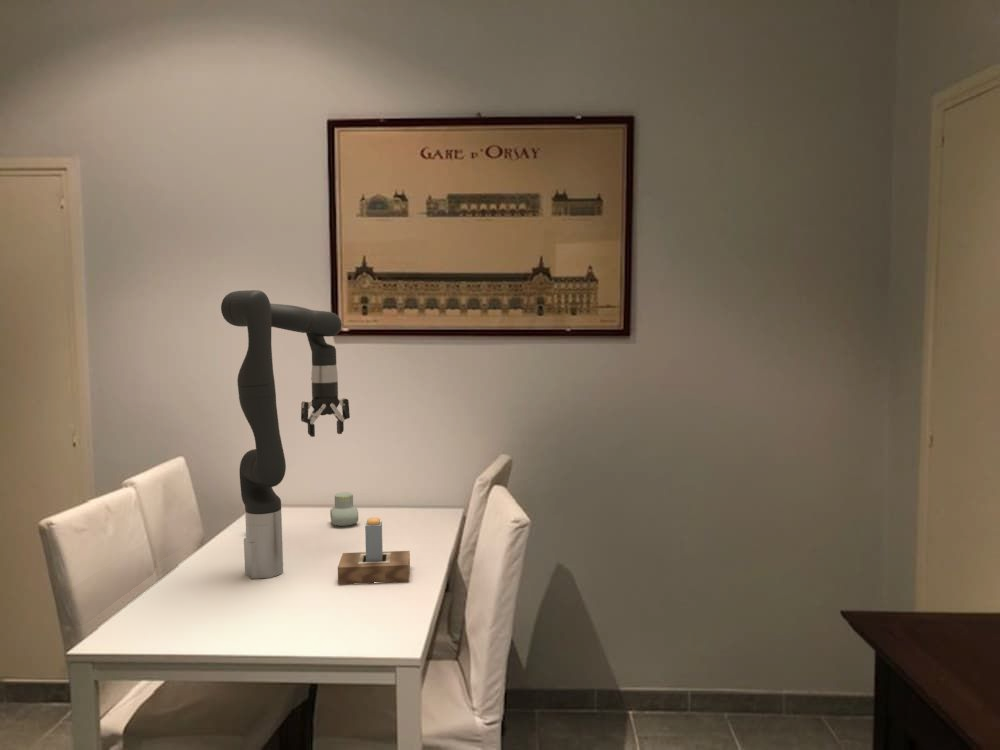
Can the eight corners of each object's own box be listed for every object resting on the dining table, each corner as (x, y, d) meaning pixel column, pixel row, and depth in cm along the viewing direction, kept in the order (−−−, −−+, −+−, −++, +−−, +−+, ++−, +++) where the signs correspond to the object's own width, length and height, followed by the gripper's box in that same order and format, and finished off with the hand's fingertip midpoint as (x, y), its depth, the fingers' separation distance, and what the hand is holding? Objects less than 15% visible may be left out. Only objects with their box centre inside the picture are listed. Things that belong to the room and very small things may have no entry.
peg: (366, 578, 209) (365, 521, 208) (367, 573, 213) (366, 517, 212) (381, 577, 210) (380, 521, 208) (383, 572, 214) (381, 517, 212)
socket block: (338, 584, 205) (337, 566, 204) (343, 569, 217) (342, 552, 216) (408, 582, 206) (408, 564, 206) (409, 566, 218) (409, 550, 218)
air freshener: (329, 521, 265) (329, 491, 264) (355, 518, 268) (354, 489, 267) (333, 529, 255) (332, 499, 254) (359, 527, 257) (358, 497, 256)
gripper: (306, 383, 227) (307, 439, 229) (352, 380, 236) (353, 434, 237) (296, 381, 234) (298, 435, 235) (342, 378, 242) (343, 431, 243)
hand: (326, 435), depth 236 cm, fingers open, 8 cm apart
